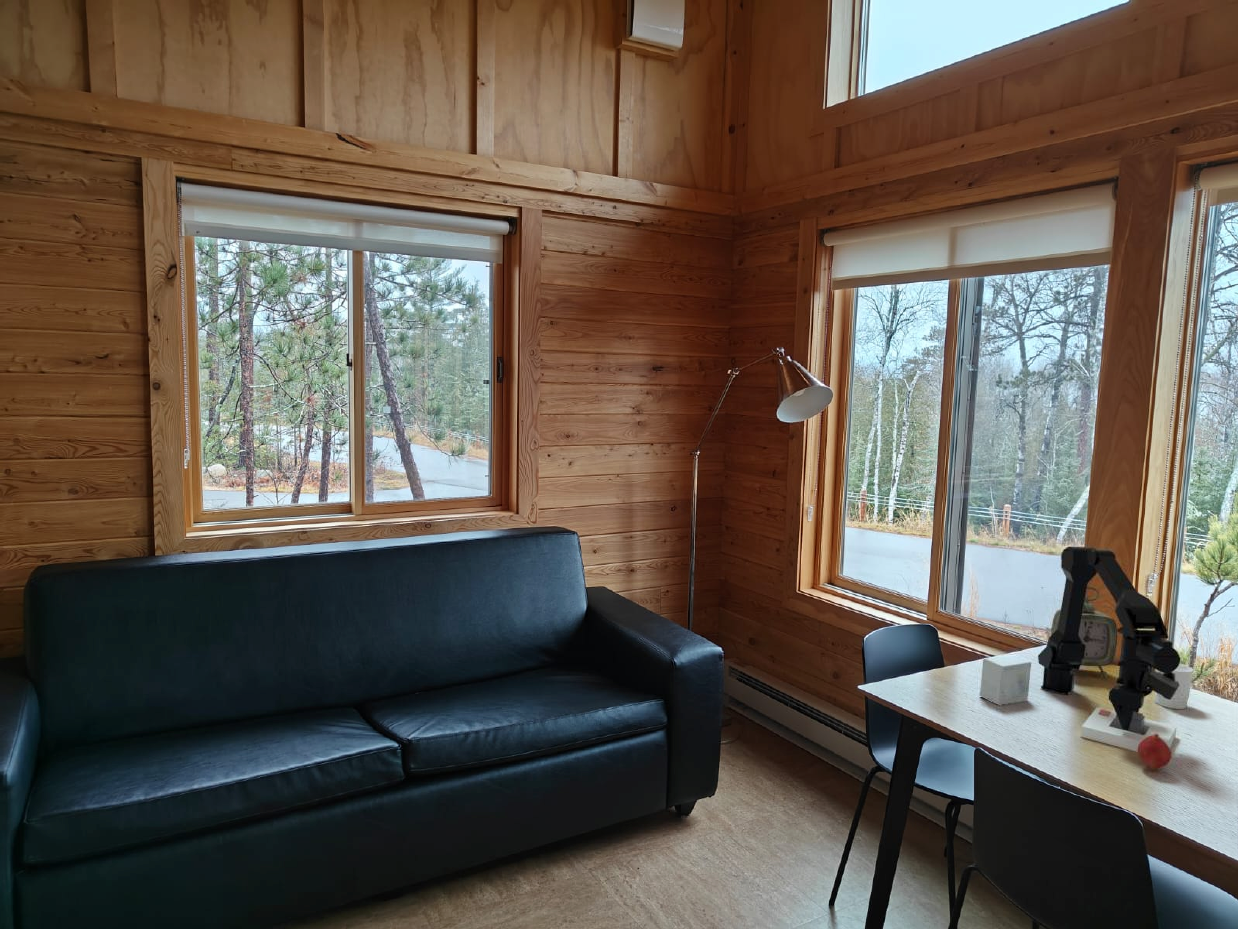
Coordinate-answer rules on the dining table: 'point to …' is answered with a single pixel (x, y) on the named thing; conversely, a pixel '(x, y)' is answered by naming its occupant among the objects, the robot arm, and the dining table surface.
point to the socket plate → (1104, 730)
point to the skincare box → (1005, 679)
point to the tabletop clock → (1095, 635)
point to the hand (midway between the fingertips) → (1129, 724)
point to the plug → (1133, 723)
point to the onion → (1154, 752)
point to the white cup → (1182, 693)
